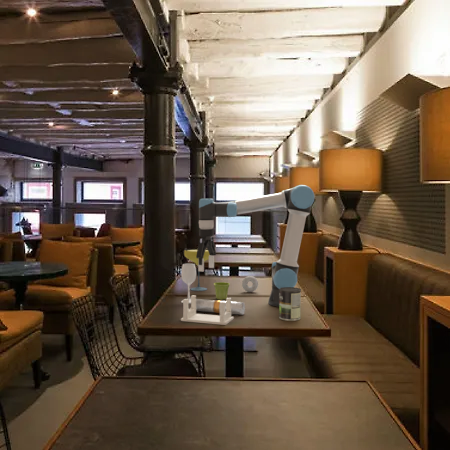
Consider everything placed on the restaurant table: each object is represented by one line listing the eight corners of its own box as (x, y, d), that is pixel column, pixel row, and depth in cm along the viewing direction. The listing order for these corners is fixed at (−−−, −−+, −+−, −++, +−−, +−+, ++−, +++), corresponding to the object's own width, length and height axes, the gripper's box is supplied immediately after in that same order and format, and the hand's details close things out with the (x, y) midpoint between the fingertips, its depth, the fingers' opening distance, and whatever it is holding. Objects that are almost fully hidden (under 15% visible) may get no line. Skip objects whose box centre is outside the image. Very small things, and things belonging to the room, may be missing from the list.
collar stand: (233, 318, 231) (233, 297, 231) (225, 324, 220) (225, 303, 219) (190, 315, 238) (190, 294, 238) (180, 320, 227) (180, 299, 226)
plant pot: (230, 297, 283) (230, 282, 282) (229, 300, 273) (229, 285, 273) (214, 296, 284) (214, 282, 283) (212, 300, 274) (212, 284, 274)
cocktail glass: (212, 292, 298) (212, 251, 296) (183, 292, 298) (182, 251, 297) (213, 286, 316) (213, 248, 314) (185, 286, 316) (185, 248, 315)
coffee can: (279, 320, 228) (280, 290, 227) (278, 315, 238) (278, 287, 237) (302, 321, 227) (302, 291, 226) (299, 315, 237) (299, 287, 237)
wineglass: (184, 304, 263) (184, 265, 262) (178, 301, 271) (178, 263, 270) (199, 302, 267) (199, 264, 266) (192, 299, 275) (192, 262, 274)
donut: (258, 291, 300) (258, 275, 299) (258, 292, 296) (258, 276, 296) (241, 291, 300) (241, 275, 299) (241, 292, 296) (241, 276, 296)
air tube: (244, 313, 242) (245, 301, 242) (241, 316, 236) (241, 303, 236) (196, 309, 250) (196, 297, 250) (191, 311, 244) (192, 299, 244)
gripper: (209, 227, 263) (209, 266, 264) (189, 229, 240) (189, 272, 241) (221, 227, 261) (221, 266, 262) (203, 230, 237) (203, 273, 238)
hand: (206, 269), depth 251 cm, fingers open, 13 cm apart
